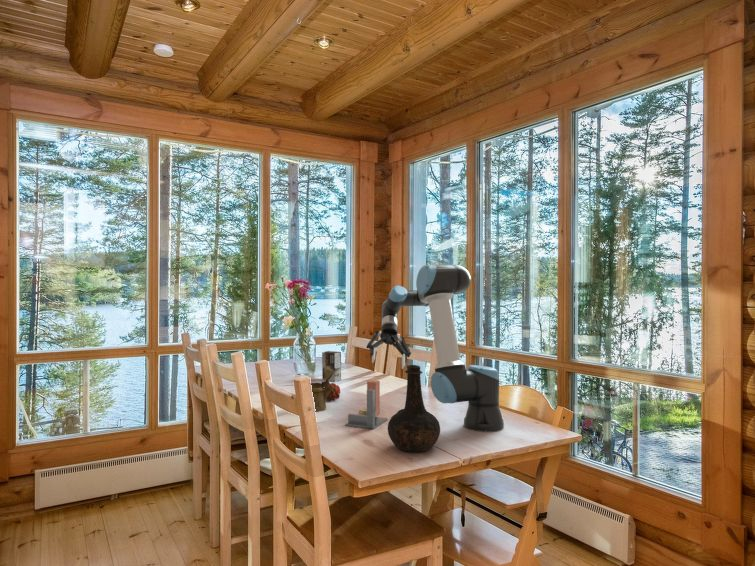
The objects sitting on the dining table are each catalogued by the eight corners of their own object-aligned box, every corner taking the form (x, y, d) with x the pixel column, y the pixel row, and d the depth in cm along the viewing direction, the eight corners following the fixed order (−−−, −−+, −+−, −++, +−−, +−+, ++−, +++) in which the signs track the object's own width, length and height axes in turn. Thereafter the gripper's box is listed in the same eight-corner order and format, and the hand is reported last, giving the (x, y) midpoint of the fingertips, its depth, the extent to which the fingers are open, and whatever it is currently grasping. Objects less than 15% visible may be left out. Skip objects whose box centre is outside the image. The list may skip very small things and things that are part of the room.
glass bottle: (421, 437, 188) (421, 359, 188) (451, 451, 172) (451, 367, 172) (378, 444, 179) (377, 363, 179) (405, 460, 164) (404, 371, 163)
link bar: (371, 412, 223) (371, 380, 222) (379, 413, 221) (379, 380, 221) (367, 414, 219) (367, 381, 219) (375, 415, 217) (375, 382, 217)
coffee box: (341, 380, 294) (341, 351, 294) (334, 382, 289) (334, 353, 289) (328, 378, 299) (328, 350, 299) (321, 380, 294) (321, 352, 294)
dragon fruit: (331, 406, 240) (329, 404, 252) (345, 394, 242) (342, 392, 254) (320, 391, 241) (318, 390, 252) (334, 380, 242) (332, 379, 254)
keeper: (360, 417, 215) (360, 381, 215) (387, 420, 211) (387, 383, 211) (344, 426, 202) (344, 388, 202) (372, 429, 197) (372, 390, 197)
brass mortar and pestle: (336, 411, 225) (336, 369, 225) (305, 412, 224) (304, 370, 224) (336, 406, 234) (335, 366, 234) (305, 407, 233) (305, 366, 233)
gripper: (412, 338, 247) (412, 374, 232) (361, 326, 243) (358, 363, 227) (417, 328, 242) (418, 365, 226) (365, 316, 238) (363, 353, 222)
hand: (388, 364), depth 227 cm, fingers open, 13 cm apart
